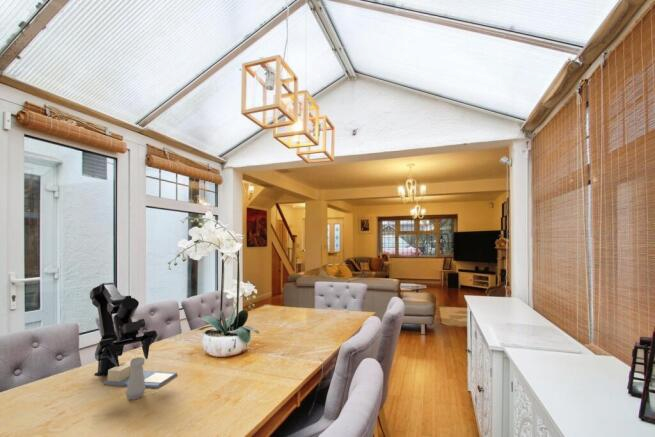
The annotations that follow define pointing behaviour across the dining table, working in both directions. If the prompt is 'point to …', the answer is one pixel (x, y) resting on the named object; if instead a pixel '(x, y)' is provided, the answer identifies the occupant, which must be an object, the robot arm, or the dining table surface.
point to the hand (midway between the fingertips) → (133, 362)
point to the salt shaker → (136, 379)
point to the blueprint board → (151, 378)
